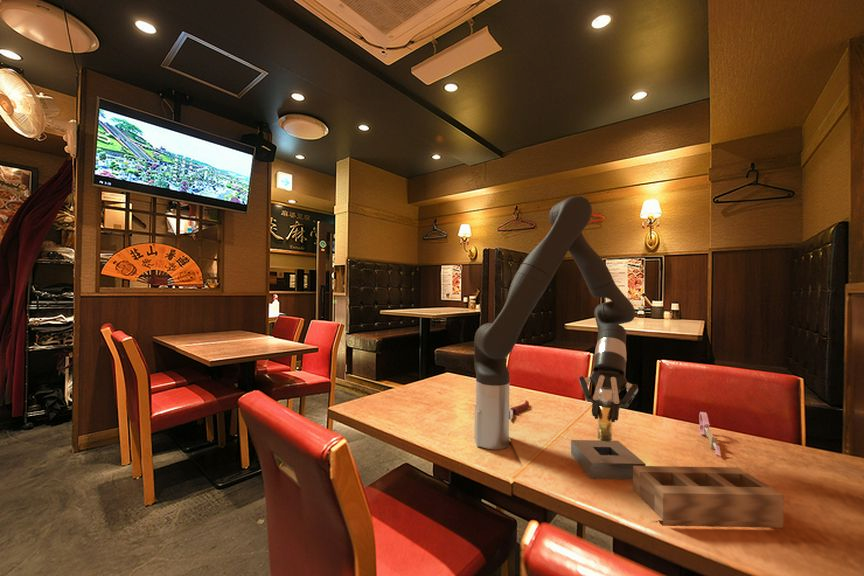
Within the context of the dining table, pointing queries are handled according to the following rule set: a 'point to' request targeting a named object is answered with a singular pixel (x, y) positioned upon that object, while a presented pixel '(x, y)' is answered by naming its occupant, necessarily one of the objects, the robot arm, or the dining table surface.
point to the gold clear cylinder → (605, 414)
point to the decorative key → (708, 432)
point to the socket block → (605, 459)
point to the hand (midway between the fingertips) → (604, 418)
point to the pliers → (518, 409)
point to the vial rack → (708, 496)
